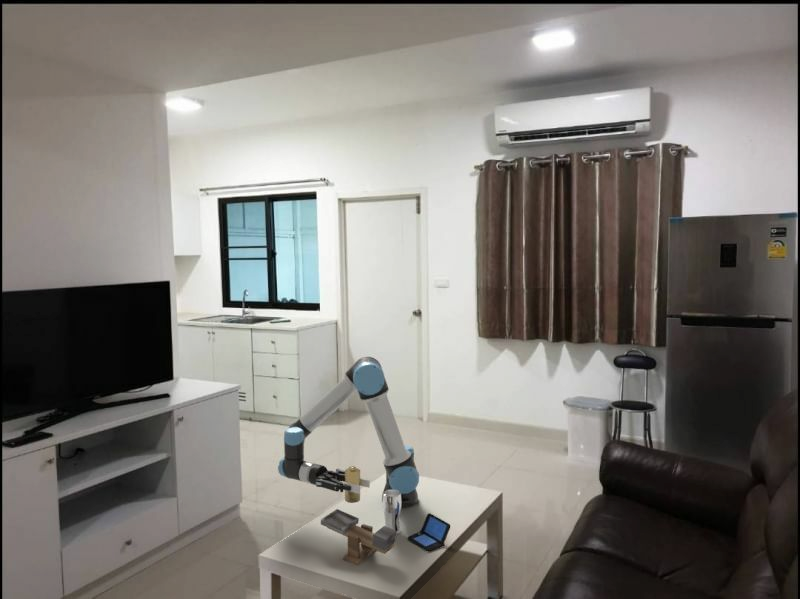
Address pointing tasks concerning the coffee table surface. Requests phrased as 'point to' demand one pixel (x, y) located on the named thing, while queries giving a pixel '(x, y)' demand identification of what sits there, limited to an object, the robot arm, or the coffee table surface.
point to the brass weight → (354, 478)
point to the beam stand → (358, 547)
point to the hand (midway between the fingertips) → (364, 486)
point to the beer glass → (392, 508)
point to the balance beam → (360, 531)
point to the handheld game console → (431, 533)
